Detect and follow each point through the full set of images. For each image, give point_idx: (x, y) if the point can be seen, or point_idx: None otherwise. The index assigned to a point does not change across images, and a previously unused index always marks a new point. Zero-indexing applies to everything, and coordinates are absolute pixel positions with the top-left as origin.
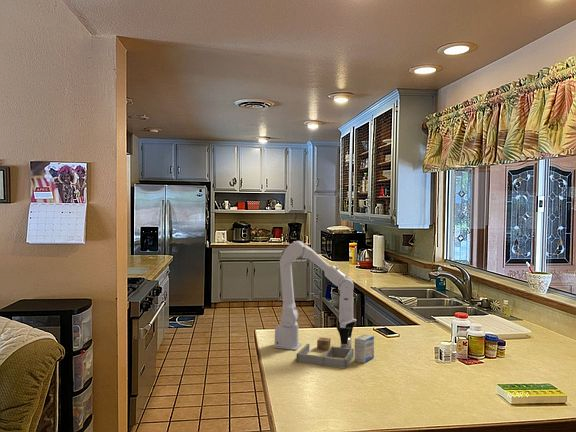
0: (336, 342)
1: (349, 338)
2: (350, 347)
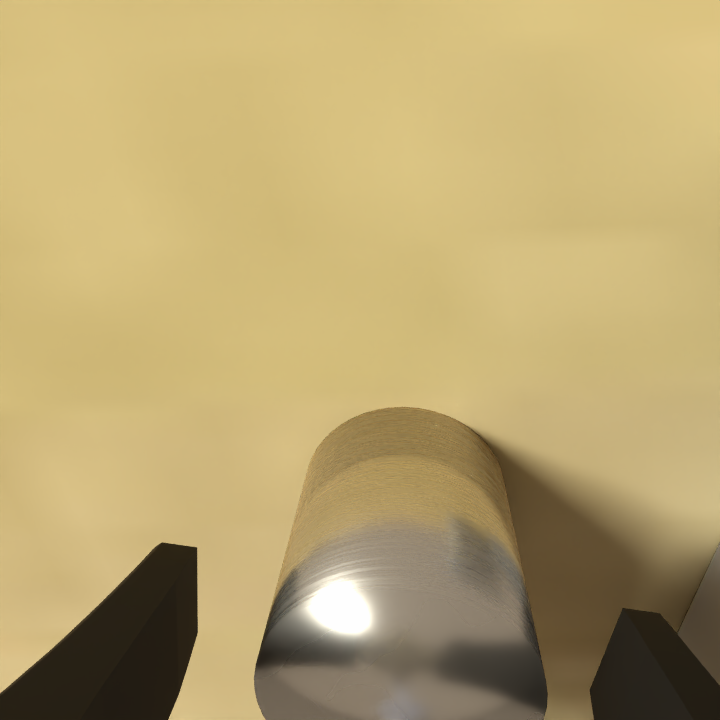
0: (49, 625)
1: (444, 629)
2: (458, 459)
